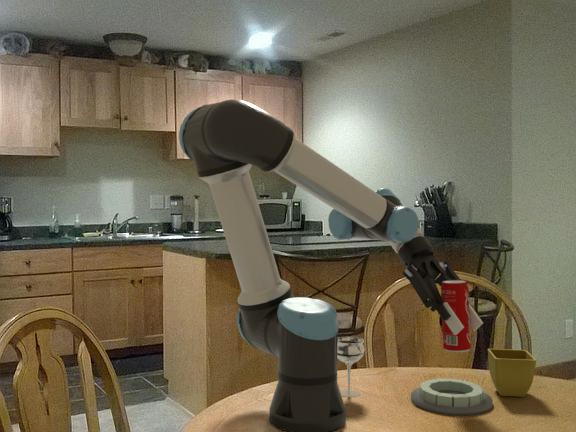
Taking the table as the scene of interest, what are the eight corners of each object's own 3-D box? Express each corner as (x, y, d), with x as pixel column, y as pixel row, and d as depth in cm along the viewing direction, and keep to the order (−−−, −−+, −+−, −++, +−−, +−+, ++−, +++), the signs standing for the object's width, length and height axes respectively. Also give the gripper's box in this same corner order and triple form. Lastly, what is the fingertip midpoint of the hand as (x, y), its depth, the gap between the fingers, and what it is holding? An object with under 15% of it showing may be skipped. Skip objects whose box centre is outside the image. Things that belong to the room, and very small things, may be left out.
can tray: (423, 416, 134) (423, 401, 134) (402, 389, 151) (402, 376, 151) (505, 414, 136) (505, 399, 135) (475, 388, 153) (475, 375, 152)
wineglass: (369, 396, 147) (370, 342, 146) (341, 399, 144) (342, 344, 144) (355, 387, 153) (355, 335, 153) (328, 390, 151) (328, 338, 150)
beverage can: (471, 354, 140) (473, 283, 139) (439, 352, 141) (441, 282, 140) (469, 347, 146) (471, 279, 145) (439, 345, 147) (440, 278, 146)
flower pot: (525, 388, 153) (526, 349, 152) (536, 400, 144) (537, 359, 144) (486, 387, 154) (487, 348, 153) (494, 399, 145) (495, 358, 144)
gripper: (428, 252, 160) (485, 332, 148) (373, 258, 149) (429, 346, 137) (446, 232, 156) (506, 312, 144) (390, 236, 144) (450, 324, 132)
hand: (468, 328), depth 140 cm, fingers closed on beverage can, 6 cm apart
